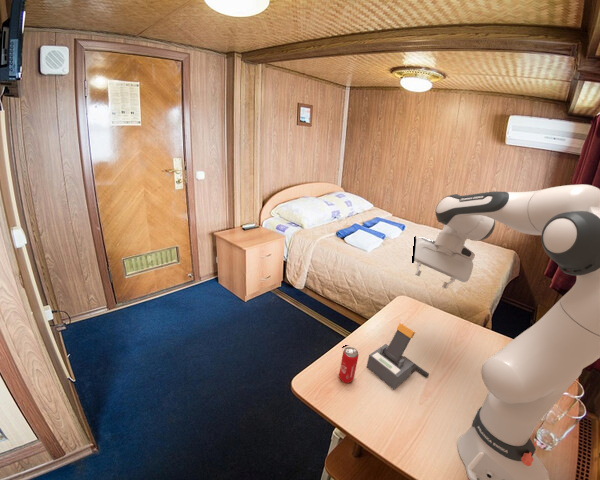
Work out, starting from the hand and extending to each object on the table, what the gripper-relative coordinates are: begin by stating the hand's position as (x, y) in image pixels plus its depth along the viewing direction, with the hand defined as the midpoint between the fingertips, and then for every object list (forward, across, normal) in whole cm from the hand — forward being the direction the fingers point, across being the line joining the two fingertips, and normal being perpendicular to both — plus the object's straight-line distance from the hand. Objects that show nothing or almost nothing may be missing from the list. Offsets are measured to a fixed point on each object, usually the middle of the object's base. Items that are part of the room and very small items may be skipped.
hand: (430, 281), depth 104 cm
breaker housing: (+35, 0, +11) cm, 37 cm away
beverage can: (+44, -11, +3) cm, 45 cm away
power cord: (+30, +7, +16) cm, 35 cm away
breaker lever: (+29, 0, +7) cm, 30 cm away
